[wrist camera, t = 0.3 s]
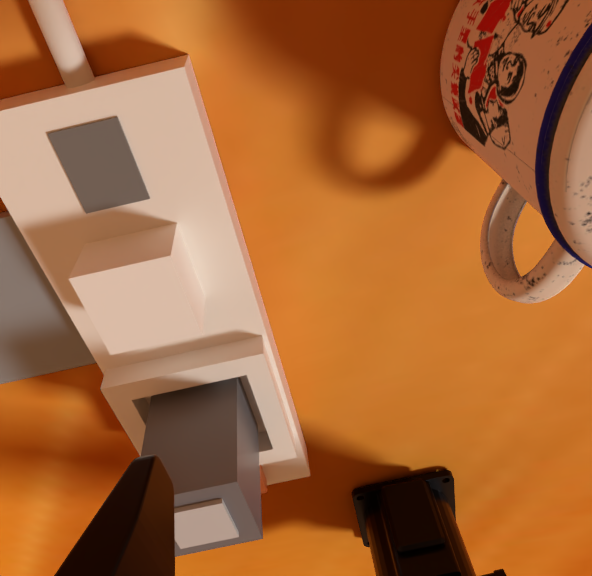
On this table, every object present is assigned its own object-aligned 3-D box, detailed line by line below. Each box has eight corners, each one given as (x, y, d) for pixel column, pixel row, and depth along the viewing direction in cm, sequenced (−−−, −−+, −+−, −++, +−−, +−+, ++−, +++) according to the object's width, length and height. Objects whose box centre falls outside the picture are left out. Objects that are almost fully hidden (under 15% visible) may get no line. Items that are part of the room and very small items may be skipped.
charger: (257, 424, 26) (263, 543, 21) (180, 441, 27) (168, 562, 21) (236, 368, 24) (237, 486, 19) (152, 387, 24) (131, 508, 19)
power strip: (306, 446, 31) (316, 515, 27) (181, 473, 31) (174, 544, 28) (84, -295, 13) (28, -376, 10) (-196, -221, 14) (-349, -273, 10)
